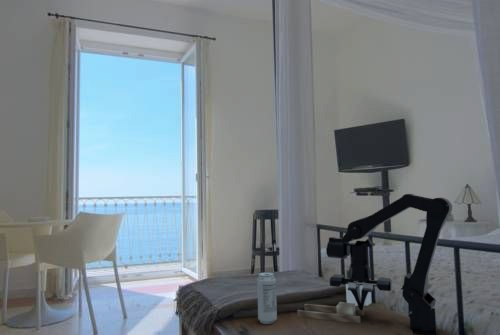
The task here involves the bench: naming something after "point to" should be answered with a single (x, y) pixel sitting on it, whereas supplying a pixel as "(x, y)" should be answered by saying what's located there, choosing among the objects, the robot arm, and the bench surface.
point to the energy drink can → (267, 298)
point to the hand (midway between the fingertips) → (361, 309)
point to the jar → (351, 298)
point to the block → (346, 308)
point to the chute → (329, 315)
